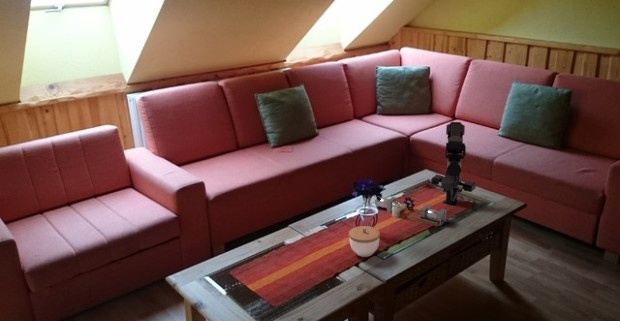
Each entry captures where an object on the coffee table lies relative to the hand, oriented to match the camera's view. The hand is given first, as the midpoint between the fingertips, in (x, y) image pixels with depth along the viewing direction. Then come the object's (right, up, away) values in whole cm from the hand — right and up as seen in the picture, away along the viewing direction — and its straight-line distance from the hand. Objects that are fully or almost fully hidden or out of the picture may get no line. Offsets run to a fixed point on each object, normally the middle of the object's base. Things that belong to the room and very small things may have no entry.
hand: (452, 200), depth 232 cm
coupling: (-6, -10, +9) cm, 15 cm away
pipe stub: (-27, -6, +24) cm, 36 cm away
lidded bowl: (-41, -20, -16) cm, 48 cm away
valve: (-19, -8, +18) cm, 28 cm away
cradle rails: (-9, -9, +11) cm, 17 cm away
